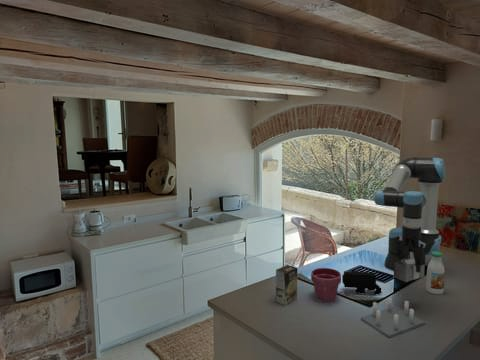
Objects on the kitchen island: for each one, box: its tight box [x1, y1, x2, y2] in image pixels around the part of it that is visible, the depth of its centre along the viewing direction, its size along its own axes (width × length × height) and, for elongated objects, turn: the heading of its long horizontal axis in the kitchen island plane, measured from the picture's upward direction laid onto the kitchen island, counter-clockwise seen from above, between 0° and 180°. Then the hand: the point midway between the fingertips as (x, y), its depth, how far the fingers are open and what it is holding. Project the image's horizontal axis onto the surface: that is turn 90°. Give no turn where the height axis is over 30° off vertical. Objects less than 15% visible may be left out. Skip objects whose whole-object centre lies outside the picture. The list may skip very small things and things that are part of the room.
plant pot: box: [310, 267, 342, 303], centre depth 168 cm, size 14×14×13 cm
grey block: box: [393, 257, 426, 283], centre depth 157 cm, size 12×6×7 cm, turn 115°
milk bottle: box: [425, 251, 446, 295], centre depth 172 cm, size 8×8×20 cm
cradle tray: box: [360, 297, 426, 339], centre depth 147 cm, size 21×15×7 cm
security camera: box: [341, 270, 382, 296], centre depth 173 cm, size 7×18×10 cm, turn 78°
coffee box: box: [275, 264, 298, 306], centre depth 167 cm, size 9×6×16 cm
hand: (409, 275), depth 157 cm, fingers closed on grey block, 6 cm apart
